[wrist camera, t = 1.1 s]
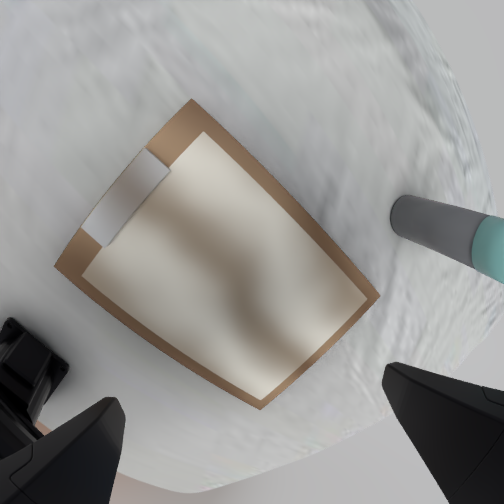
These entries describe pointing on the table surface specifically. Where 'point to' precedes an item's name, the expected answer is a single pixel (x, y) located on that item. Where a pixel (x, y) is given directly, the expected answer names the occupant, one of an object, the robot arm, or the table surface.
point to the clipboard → (216, 262)
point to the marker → (453, 233)
